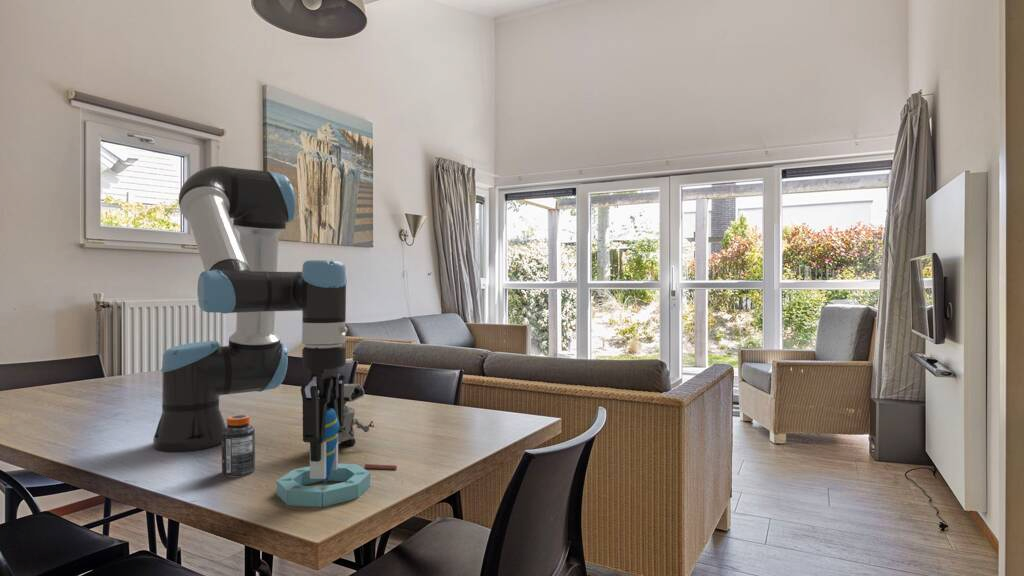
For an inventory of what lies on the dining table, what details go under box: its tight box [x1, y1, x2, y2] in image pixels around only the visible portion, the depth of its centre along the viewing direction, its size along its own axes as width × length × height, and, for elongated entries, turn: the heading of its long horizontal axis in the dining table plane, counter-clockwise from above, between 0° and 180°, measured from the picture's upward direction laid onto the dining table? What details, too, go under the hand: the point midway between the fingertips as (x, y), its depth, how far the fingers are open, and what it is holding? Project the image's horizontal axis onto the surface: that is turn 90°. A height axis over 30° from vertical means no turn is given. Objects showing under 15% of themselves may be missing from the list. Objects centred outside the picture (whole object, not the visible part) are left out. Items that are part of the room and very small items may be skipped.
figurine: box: [337, 383, 375, 447], centre depth 130 cm, size 9×12×15 cm
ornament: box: [321, 408, 339, 483], centre depth 105 cm, size 5×5×15 cm
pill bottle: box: [221, 414, 256, 478], centre depth 114 cm, size 6×6×11 cm
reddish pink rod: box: [363, 463, 398, 470], centre depth 117 cm, size 7×1×1 cm, turn 83°
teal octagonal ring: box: [276, 463, 371, 508], centre depth 105 cm, size 15×15×2 cm
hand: (324, 473), depth 105 cm, fingers closed on ornament, 4 cm apart
